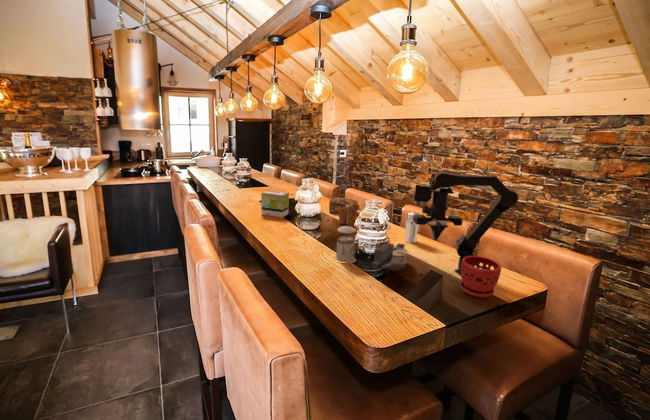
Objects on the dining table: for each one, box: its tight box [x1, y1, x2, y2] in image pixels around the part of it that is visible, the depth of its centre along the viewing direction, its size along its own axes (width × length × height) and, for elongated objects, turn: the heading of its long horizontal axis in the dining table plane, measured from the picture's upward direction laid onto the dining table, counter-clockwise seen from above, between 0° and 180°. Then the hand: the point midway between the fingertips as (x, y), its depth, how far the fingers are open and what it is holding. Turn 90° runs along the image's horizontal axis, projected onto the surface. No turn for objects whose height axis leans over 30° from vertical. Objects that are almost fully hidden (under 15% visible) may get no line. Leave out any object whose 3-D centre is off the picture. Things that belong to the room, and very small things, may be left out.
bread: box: [328, 197, 359, 214], centre depth 241 cm, size 19×11×10 cm, turn 79°
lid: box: [373, 242, 408, 263], centre depth 147 cm, size 23×10×5 cm, turn 144°
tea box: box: [260, 189, 290, 218], centre depth 227 cm, size 15×10×15 cm
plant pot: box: [459, 255, 502, 298], centre depth 129 cm, size 13×13×12 cm
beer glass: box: [404, 211, 421, 244], centre depth 184 cm, size 7×7×15 cm
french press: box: [334, 205, 357, 264], centre depth 154 cm, size 10×12×25 cm
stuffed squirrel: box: [337, 203, 361, 227], centre depth 213 cm, size 10×14×13 cm
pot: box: [370, 254, 407, 272], centre depth 149 cm, size 23×10×6 cm, turn 139°
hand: (435, 240), depth 147 cm, fingers closed
